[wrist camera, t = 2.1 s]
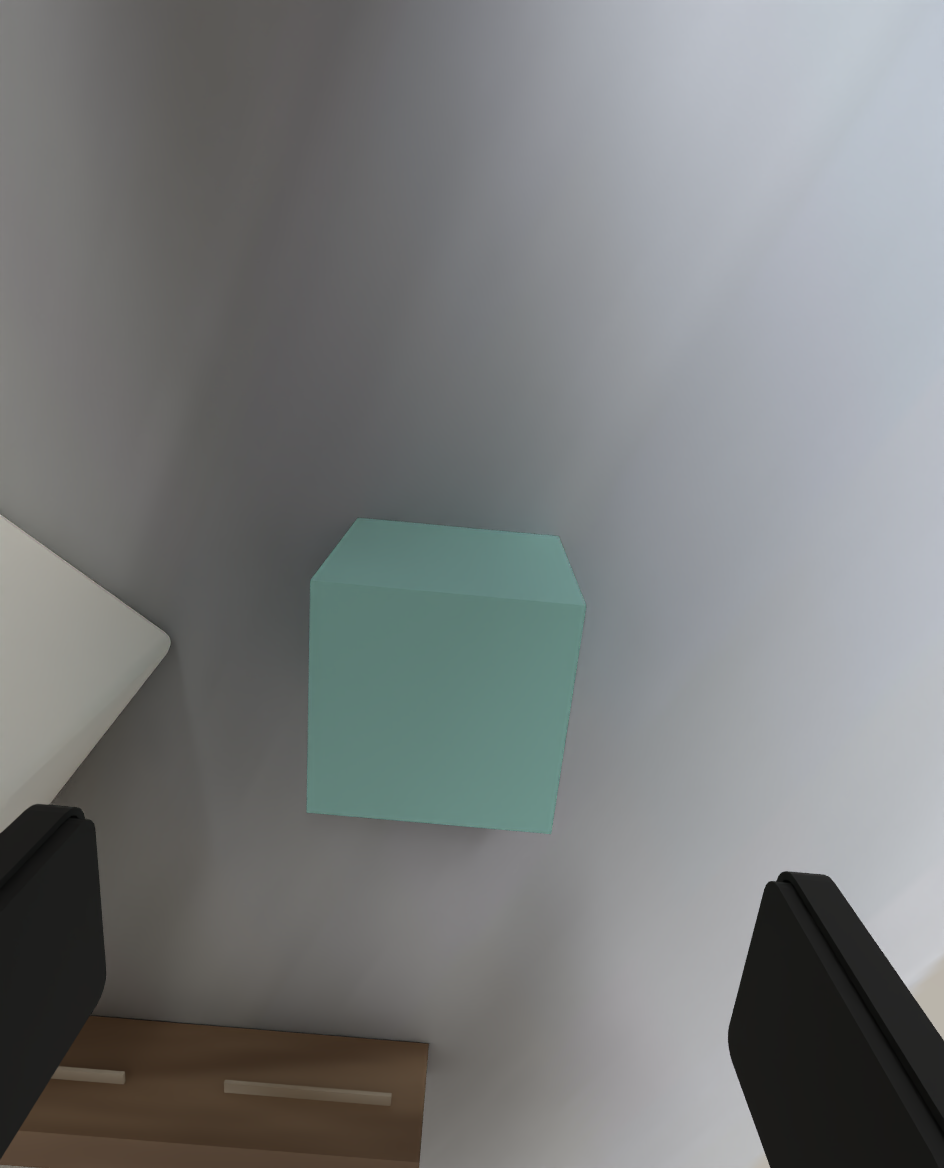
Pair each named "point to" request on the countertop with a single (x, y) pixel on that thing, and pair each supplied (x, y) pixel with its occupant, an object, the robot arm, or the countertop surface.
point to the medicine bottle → (60, 668)
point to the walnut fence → (225, 1100)
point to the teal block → (441, 675)
